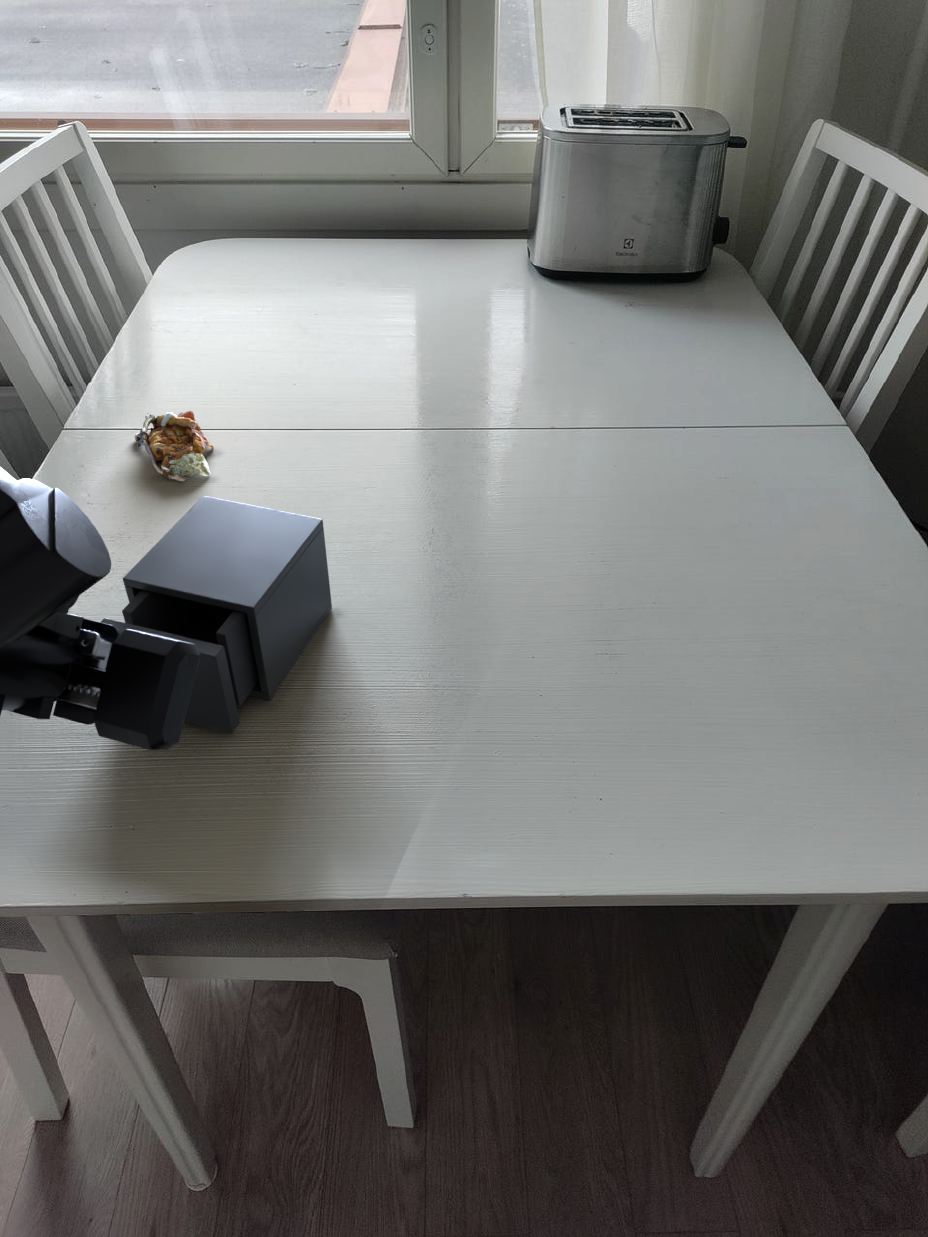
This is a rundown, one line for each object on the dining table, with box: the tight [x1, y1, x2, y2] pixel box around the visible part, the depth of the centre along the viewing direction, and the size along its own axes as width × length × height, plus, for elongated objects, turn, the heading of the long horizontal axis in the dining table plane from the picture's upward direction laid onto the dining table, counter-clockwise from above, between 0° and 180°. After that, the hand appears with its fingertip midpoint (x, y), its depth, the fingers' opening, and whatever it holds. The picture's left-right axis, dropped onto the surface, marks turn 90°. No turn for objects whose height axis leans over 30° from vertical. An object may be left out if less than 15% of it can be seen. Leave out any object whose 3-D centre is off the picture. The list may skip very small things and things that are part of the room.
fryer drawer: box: [100, 589, 259, 734], centre depth 73 cm, size 12×10×8 cm
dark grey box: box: [122, 495, 333, 701], centre depth 77 cm, size 12×11×9 cm
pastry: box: [134, 410, 215, 482], centre depth 102 cm, size 7×12×4 cm, turn 32°
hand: (120, 669), depth 64 cm, fingers closed
